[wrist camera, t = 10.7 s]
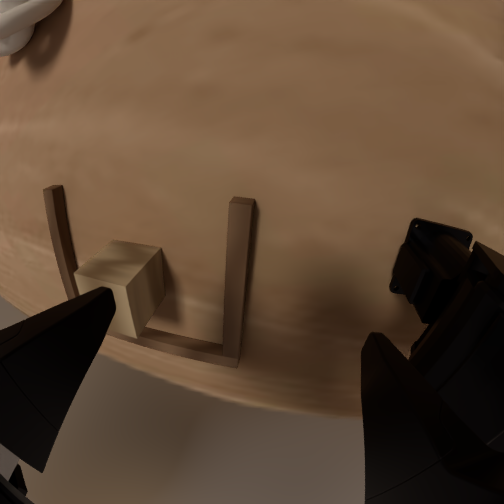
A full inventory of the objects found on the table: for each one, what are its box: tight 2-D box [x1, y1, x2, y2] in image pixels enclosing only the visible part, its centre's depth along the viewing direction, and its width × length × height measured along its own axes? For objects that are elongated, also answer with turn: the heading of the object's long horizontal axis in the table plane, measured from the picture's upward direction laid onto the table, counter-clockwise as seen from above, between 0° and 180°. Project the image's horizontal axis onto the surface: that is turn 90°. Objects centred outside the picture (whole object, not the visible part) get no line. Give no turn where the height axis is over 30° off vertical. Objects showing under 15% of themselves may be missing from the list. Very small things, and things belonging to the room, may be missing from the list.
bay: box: [43, 185, 255, 368], centre depth 23 cm, size 20×16×2 cm
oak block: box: [74, 240, 165, 338], centre depth 21 cm, size 5×5×6 cm
